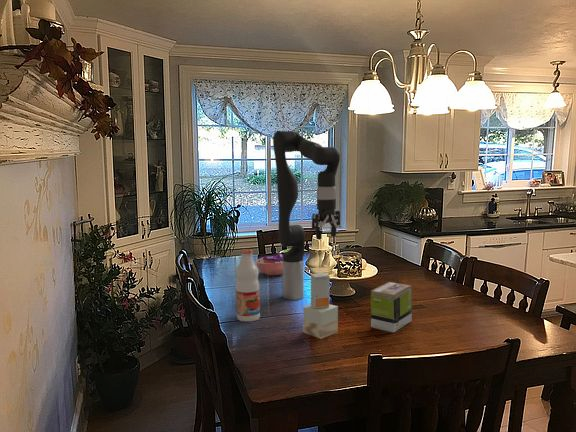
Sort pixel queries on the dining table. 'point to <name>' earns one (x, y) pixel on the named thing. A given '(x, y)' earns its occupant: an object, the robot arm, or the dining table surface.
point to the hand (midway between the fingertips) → (326, 237)
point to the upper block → (320, 314)
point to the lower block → (320, 329)
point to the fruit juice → (247, 288)
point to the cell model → (271, 264)
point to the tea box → (391, 306)
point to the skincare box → (320, 290)
